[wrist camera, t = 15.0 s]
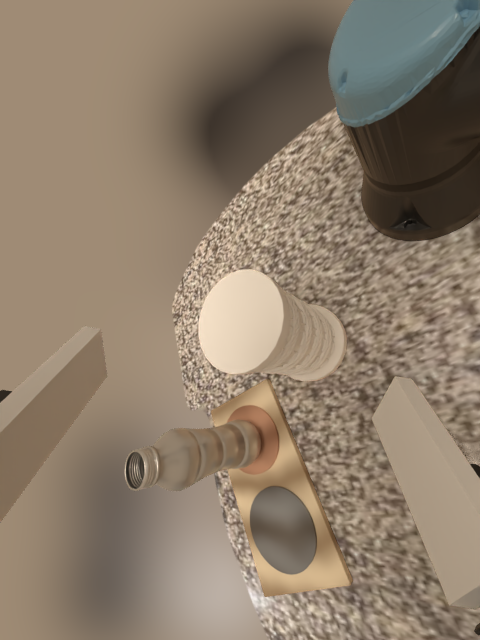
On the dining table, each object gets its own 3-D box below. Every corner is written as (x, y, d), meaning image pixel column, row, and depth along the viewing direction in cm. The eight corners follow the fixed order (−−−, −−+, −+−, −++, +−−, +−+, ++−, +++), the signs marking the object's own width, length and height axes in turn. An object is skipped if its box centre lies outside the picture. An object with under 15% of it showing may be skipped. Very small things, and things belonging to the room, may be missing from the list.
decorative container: (262, 343, 47) (181, 324, 33) (308, 291, 44) (240, 245, 30) (307, 398, 41) (230, 403, 27) (365, 341, 37) (313, 313, 23)
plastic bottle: (229, 454, 45) (110, 490, 29) (237, 412, 46) (125, 425, 30) (262, 471, 41) (145, 523, 25) (270, 425, 42) (161, 448, 26)
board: (214, 410, 51) (208, 411, 49) (269, 379, 45) (264, 379, 44) (268, 592, 39) (262, 599, 37) (352, 580, 33) (349, 588, 32)
